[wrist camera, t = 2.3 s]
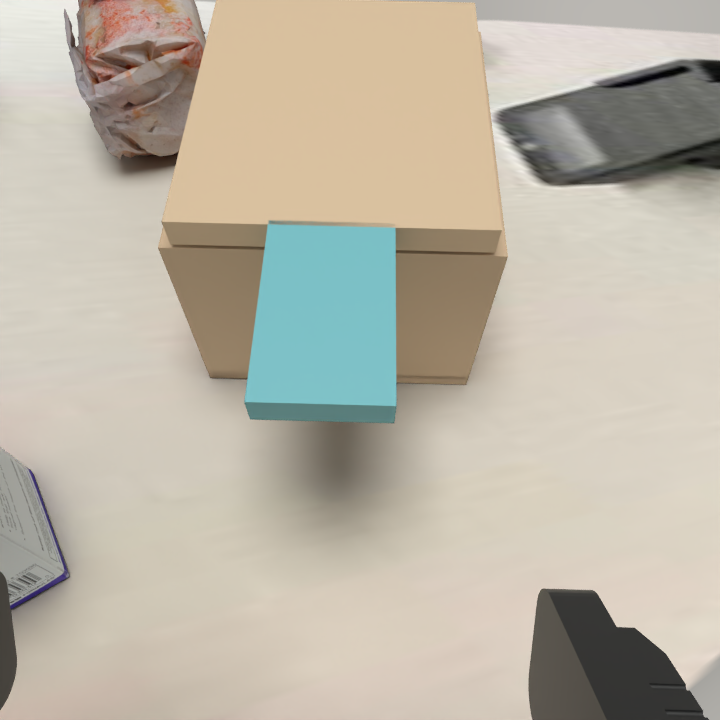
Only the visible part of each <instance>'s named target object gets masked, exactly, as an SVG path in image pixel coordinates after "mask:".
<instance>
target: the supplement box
mask: <svg viewBox="0 0 720 720" xmlns="http://www.w3.org/2000/svg"><path fill="white" fill-rule="evenodd" d="M0 572H2V573H3V575H4V576H5V578H6V581H7V585H8V593H9V601H10V608H11V609H12V608H14V607H16V606H18V605H19V604H21V603H23V602H25V601H27V600H28V599H30V598H32V597H34V596H36V595H37V594H39V593H41V592H43V591H44V590H46V589H48V588H50V587H51V586H53V585H55V584H57V583H59V582H60V581H62V580H64V579H66V578H68V577H69V573H68V570H67V566H66V563H65V560H64V557H63V555H62V552H61V550H60V547H59V545H58V542H57V539H56V536H55V534H54V531H53V528H52V526H51V523H50V520H49V516H48V514H47V511H46V508H45V505H44V502H43V499H42V496H41V494H40V491H39V488H38V486H37V483H36V480H35V477H34V475H33V473H32V471H31V470H30V469H28V468H27V467H25V466H24V465H23V464H22V463H20V462H19V461H18V460H17V459H15V458H14V457H13V456H12V455H10V454H9V453H8V452H6V451H5V450H4V449H2V448H1V447H0Z"/></svg>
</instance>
